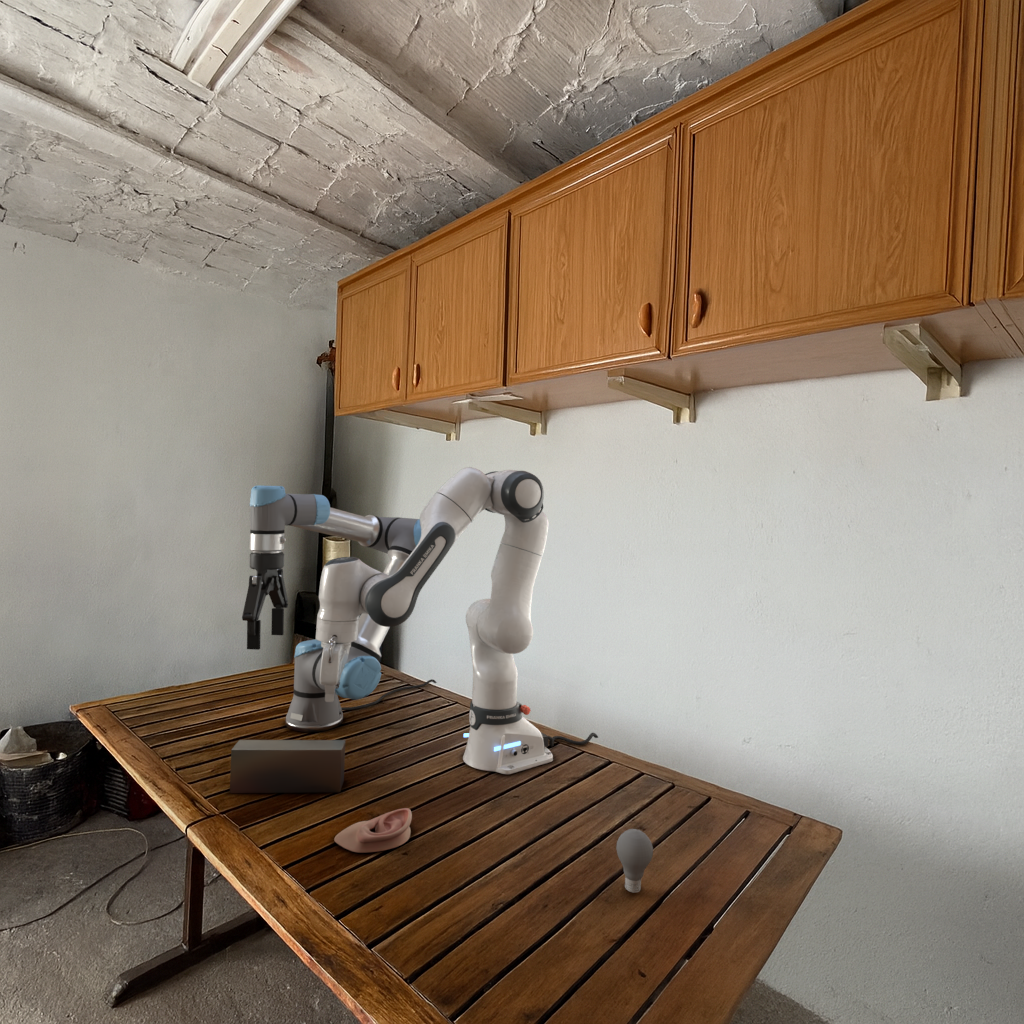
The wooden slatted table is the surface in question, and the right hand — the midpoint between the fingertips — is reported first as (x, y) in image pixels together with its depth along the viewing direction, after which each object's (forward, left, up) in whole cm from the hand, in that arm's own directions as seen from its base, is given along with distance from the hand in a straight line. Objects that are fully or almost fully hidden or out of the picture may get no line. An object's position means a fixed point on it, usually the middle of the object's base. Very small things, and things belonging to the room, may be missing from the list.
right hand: (332, 694), depth 138 cm
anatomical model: (-3, +24, -20) cm, 32 cm away
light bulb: (-39, +57, -20) cm, 72 cm away
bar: (+8, -3, -20) cm, 22 cm away
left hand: (+12, -18, +8) cm, 23 cm away
